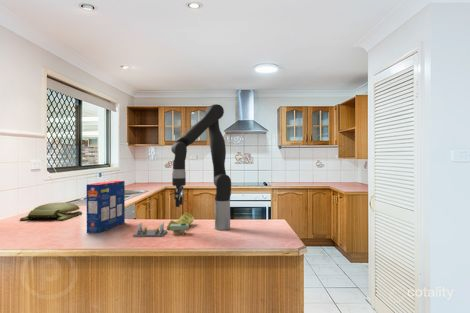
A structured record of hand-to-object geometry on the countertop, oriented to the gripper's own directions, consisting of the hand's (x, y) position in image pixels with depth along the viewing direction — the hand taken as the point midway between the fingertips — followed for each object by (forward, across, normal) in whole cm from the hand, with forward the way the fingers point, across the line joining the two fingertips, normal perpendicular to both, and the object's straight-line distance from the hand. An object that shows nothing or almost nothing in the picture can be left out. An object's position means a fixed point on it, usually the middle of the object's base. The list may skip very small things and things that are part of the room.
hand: (179, 205), depth 185 cm
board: (+13, 0, 0) cm, 13 cm away
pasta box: (+16, +16, +48) cm, 53 cm away
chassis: (+16, -1, +16) cm, 23 cm away
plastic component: (+16, +18, +2) cm, 24 cm away
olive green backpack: (+17, +51, +101) cm, 115 cm away
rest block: (+16, 0, 0) cm, 16 cm away
